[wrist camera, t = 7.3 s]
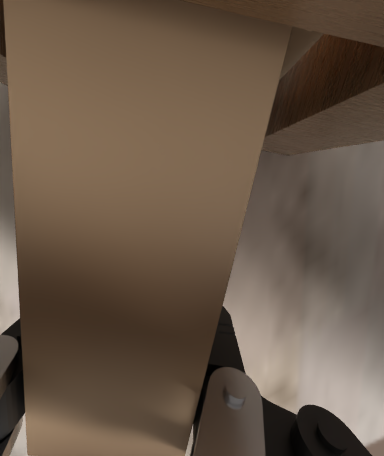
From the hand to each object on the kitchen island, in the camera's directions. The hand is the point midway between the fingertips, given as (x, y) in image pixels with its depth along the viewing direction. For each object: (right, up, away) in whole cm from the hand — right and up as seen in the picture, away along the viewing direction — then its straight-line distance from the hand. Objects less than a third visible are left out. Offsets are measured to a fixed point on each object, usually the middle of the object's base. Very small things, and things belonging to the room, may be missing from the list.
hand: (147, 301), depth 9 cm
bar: (+1, +7, -1) cm, 7 cm away
